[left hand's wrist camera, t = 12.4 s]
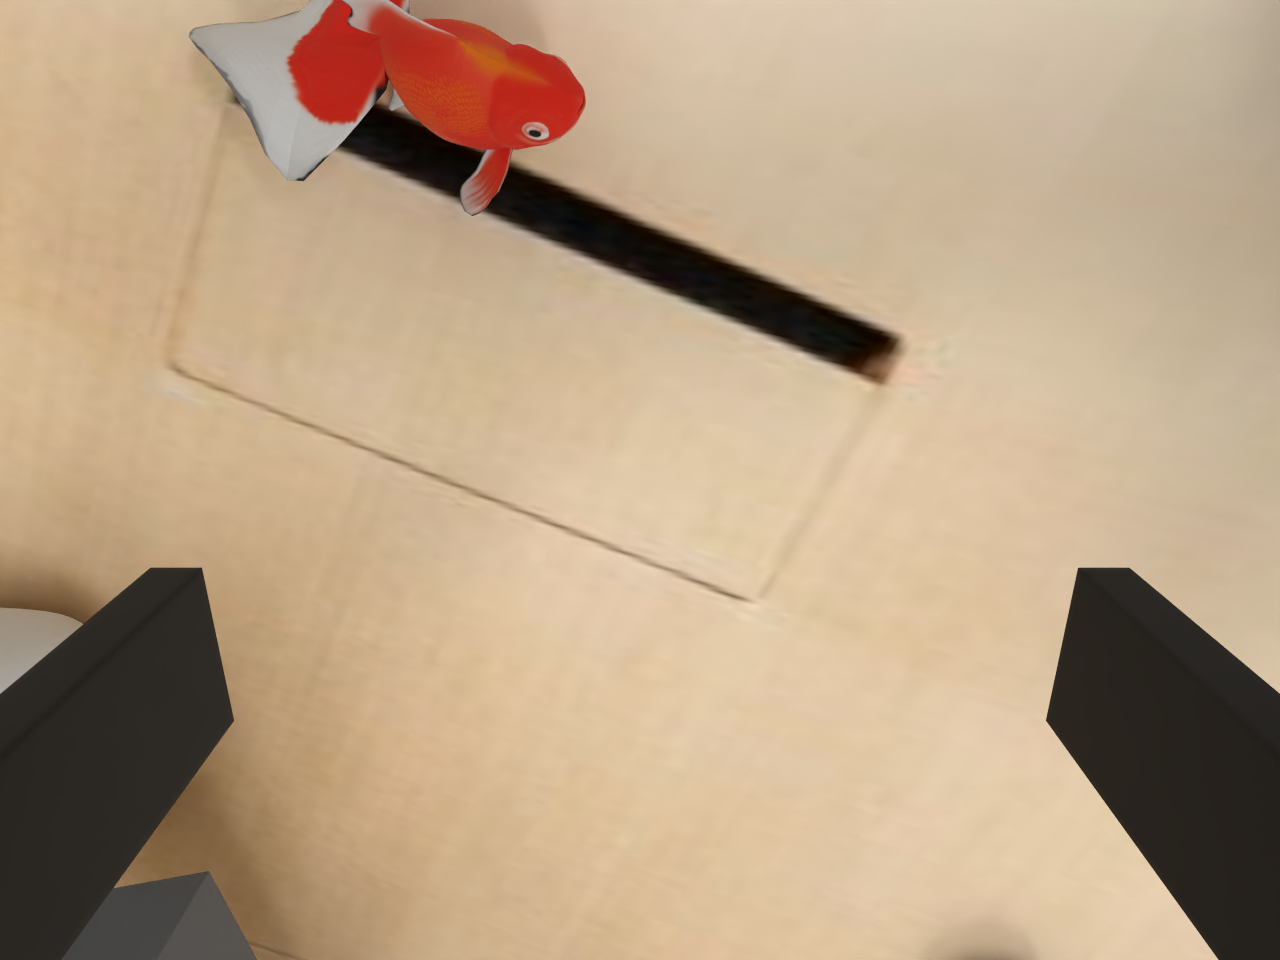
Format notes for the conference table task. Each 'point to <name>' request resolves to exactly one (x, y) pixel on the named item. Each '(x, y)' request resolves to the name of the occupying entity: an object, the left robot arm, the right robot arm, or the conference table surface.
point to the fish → (419, 71)
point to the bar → (163, 924)
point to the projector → (29, 639)
